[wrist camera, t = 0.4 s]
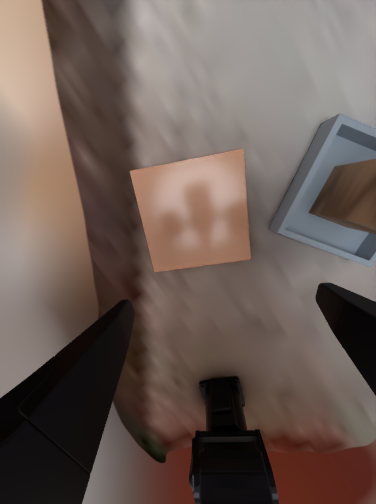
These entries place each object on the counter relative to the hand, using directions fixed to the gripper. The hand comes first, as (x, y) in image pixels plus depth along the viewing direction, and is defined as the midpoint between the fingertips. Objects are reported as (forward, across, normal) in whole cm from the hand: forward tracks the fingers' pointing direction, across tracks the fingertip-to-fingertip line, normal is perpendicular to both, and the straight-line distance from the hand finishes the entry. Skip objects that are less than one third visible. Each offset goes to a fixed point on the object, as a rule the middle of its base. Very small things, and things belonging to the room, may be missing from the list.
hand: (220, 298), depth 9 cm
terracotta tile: (+14, +1, 0) cm, 14 cm away
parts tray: (+14, -15, 0) cm, 21 cm away
